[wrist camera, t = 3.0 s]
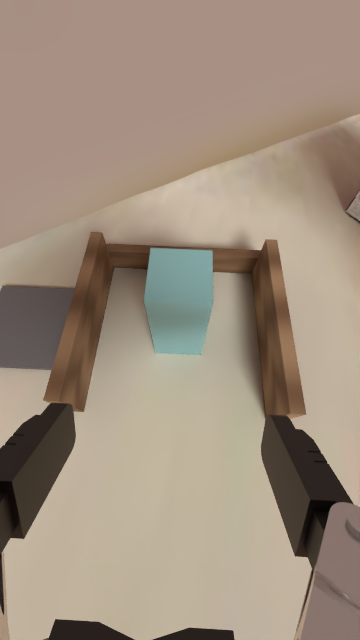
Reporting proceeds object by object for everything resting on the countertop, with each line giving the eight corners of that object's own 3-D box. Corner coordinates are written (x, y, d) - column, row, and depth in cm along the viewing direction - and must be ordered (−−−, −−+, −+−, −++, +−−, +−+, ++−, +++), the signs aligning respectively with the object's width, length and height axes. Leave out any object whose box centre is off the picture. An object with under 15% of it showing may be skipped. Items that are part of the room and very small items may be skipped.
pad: (64, 370, 27) (62, 369, 27) (-29, 365, 27) (-33, 364, 27) (84, 291, 32) (83, 289, 31) (5, 288, 32) (2, 285, 31)
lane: (278, 422, 25) (306, 414, 20) (71, 411, 25) (43, 400, 20) (260, 266, 34) (275, 231, 28) (106, 259, 34) (93, 224, 29)
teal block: (200, 355, 28) (213, 303, 18) (155, 352, 28) (143, 300, 18) (201, 315, 30) (212, 250, 21) (159, 313, 30) (150, 247, 21)
